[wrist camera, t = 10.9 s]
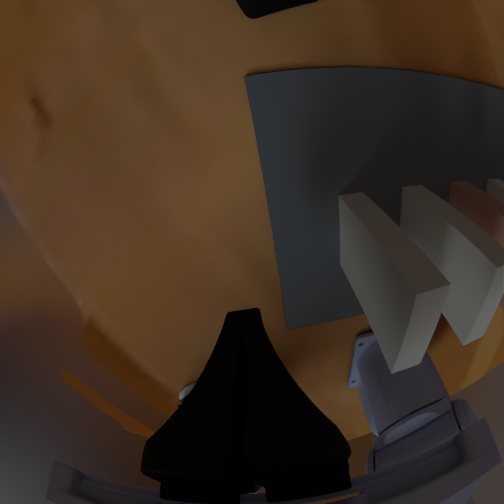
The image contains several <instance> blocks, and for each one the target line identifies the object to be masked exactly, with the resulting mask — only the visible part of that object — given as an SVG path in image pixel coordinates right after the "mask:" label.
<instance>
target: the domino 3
mask: <svg viewBox="0 0 504 504" xmlns="http://www.w3.org/2000/svg"><path fill="white" fill-rule="evenodd" d="M449 204H450V205H451V206H453V207H454V208H455V209H457V210H458V211H459V212H461V213H462V214H463V215H465V216H466V217H467V218H468V219H470V220H471V221H472V222H473V223H475V224H476V225H477V226H478V227H480V228H481V229H482V230H483V231H485V232H486V233H487V234H488V235H489V236H490V237H492V238H493V239H494V240H495V241H496V242H497V243H498V244H500V245H501V246H502V247H503V248H504V205H503V204H502V203H500V202H499V201H497V200H496V199H494V198H493V197H491V196H490V195H488V194H487V193H485V192H484V191H482V190H480V189H479V188H477V187H475V186H474V185H472V184H470V183H469V182H467V181H455V182H451V190H450V199H449ZM499 304H500V306H501V307H502V308H503V309H504V294H503V296H502V298H501V300H500V303H499Z"/></svg>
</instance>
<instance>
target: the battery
mask: <svg viewBox="0 0 504 504" xmlns="http://www.w3.org/2000/svg"><path fill="white" fill-rule="evenodd" d="M316 1H318V0H236V2H237V3H238V5H239V6H240V8H241V10H242V11H243V13H244V14H245V15H246V16H247V17H249V18H251V19H255V18H259V17H262V16H265V15H268V14H271V13H274V12H278V11H281V10H284V9H288V8H292V7H295V6H299V5H303V4H308V3H312V2H316Z"/></svg>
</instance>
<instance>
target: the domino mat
mask: <svg viewBox="0 0 504 504" xmlns="http://www.w3.org/2000/svg"><path fill="white" fill-rule="evenodd" d="M244 78H245V83H246V88H247V93H248V98H249V103H250V108H251V113H252V118H253V123H254V129H255V134H256V139H257V145H258V150H259V156H260V161H261V167H262V172H263V178H264V184H265V190H266V195H267V201H268V207H269V213H270V219H271V225H272V231H273V237H274V243H275V250H276V256H277V262H278V269H279V275H280V282H281V289H282V295H283V302H284V309H285V316H286V323H287V329H293V328H299V327H304V326H309V325H314V324H319V323H324V322H329V321H333V320H338V319H342V318H347V317H351V316H355V315H360V314H364V311H363V309H362V307H361V305H360V303H359V301H358V299H357V297H356V295H355V293H354V291H353V289H352V287H351V285H350V283H349V281H348V279H347V277H346V275H345V273H344V271H343V269H342V267H341V265H340V222H339V197H338V195H345V194H352V193H359V192H363V193H364V194H365V195H367V196H368V197H369V198H370V199H371V200H372V201H373V202H374V203H375V204H376V205H377V206H378V207H379V208H381V209H382V210H383V211H384V212H385V213H386V214H387V215H388V216H389V217H390V218H391V219H392V220H393V221H394V222H395V223H396V224H397V225H398V226H399V227H400V217H401V201H402V187H407V186H416V185H422V186H424V187H425V188H427V189H428V190H430V191H431V192H433V193H434V194H436V195H437V196H438V197H440V198H441V199H443V200H444V201H446V202H447V203H448V204H449V199H450V190H451V182H455V181H467V182H469V183H470V184H472V185H474V186H475V187H477V188H479V189H480V190H482V191H484V192H485V193H486V187H487V179H497V178H498V179H500V180H502V181H503V182H504V90H501V89H498V88H494V87H491V86H487V85H484V84H480V83H476V82H472V81H468V80H463V79H458V78H454V77H448V76H443V75H437V74H431V73H424V72H416V71H407V70H396V69H383V68H349V67H348V68H314V69H300V70H289V71H279V72H271V73H263V74H257V75H250V76H244Z"/></svg>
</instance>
